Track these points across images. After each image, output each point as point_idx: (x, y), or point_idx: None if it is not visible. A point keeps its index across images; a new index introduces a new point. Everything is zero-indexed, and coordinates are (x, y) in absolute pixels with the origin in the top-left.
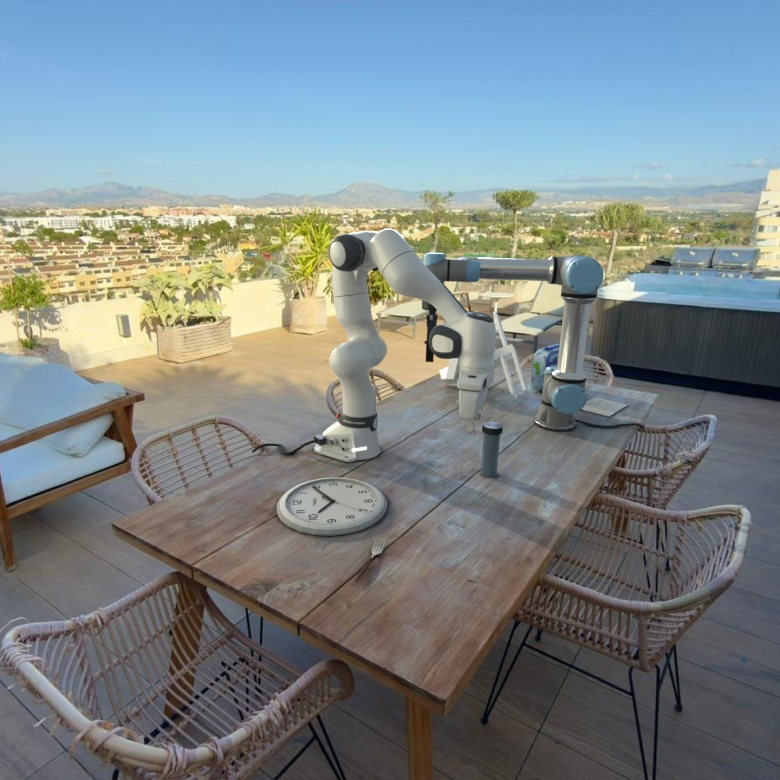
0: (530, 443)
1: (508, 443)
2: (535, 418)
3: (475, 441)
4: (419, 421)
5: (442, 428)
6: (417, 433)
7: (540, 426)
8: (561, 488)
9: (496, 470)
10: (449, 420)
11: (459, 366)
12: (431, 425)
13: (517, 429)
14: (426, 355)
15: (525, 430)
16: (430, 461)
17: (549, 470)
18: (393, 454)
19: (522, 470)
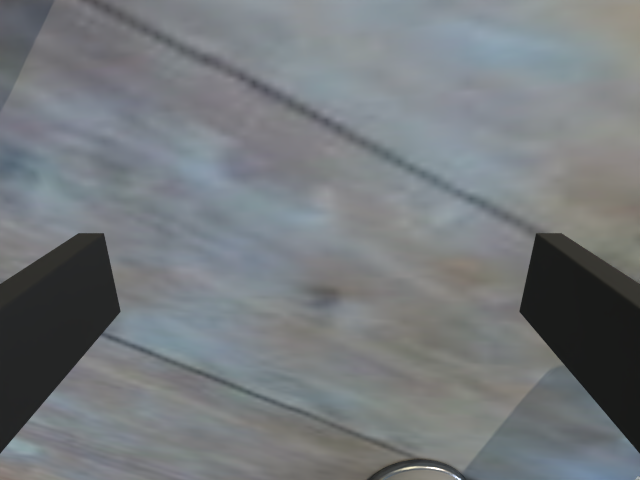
0: (260, 433)
1: (246, 385)
2: (420, 472)
3: (239, 302)
4: (405, 101)
5: (337, 198)
6: (268, 102)
7: (385, 469)
8: (13, 458)
9: None
10: (426, 222)
11: None
12: (364, 155)
13: (362, 414)
14: (27, 275)
15: (357, 432)
16: (29, 166)
17: (99, 450)
18: (32, 20)
19: (75, 399)
